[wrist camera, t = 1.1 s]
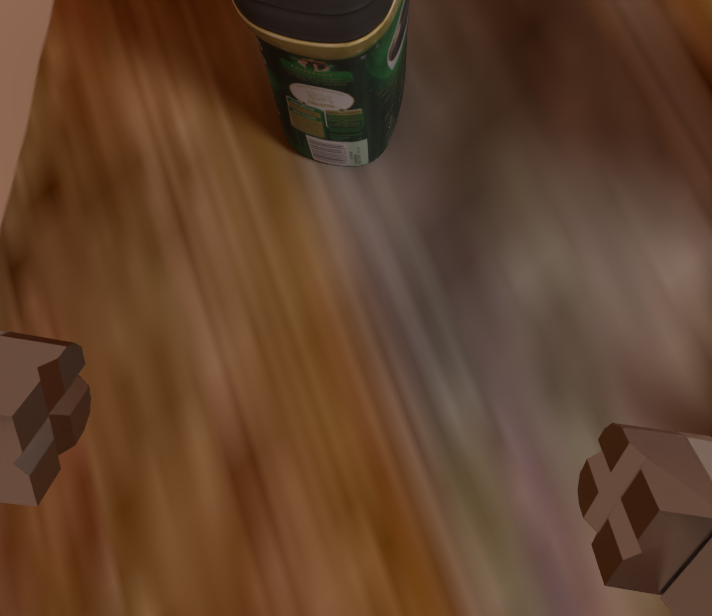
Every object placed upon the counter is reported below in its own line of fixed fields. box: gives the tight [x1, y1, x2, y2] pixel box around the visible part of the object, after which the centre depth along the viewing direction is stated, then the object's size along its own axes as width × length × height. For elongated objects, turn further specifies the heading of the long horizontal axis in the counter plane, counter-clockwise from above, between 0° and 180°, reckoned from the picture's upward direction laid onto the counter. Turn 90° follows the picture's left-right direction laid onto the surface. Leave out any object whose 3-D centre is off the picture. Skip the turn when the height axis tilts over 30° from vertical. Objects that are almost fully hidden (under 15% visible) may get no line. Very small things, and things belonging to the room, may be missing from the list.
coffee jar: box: [232, 0, 409, 167], centre depth 30 cm, size 10×8×19 cm
